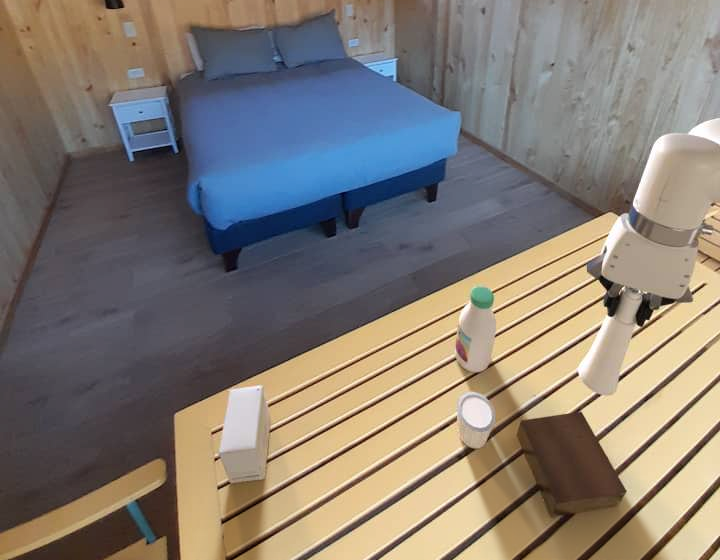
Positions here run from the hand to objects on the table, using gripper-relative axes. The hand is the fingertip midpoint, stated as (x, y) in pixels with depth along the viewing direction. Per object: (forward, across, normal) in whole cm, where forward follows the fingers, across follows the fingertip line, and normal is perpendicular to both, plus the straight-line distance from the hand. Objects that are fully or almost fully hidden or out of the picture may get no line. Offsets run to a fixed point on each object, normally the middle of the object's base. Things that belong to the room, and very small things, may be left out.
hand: (624, 313), depth 62 cm
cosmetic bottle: (+17, 0, 0) cm, 17 cm away
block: (+32, +2, +8) cm, 33 cm away
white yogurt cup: (+33, +18, +9) cm, 38 cm away
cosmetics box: (+33, +55, +30) cm, 70 cm away
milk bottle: (+33, +21, -6) cm, 39 cm away
